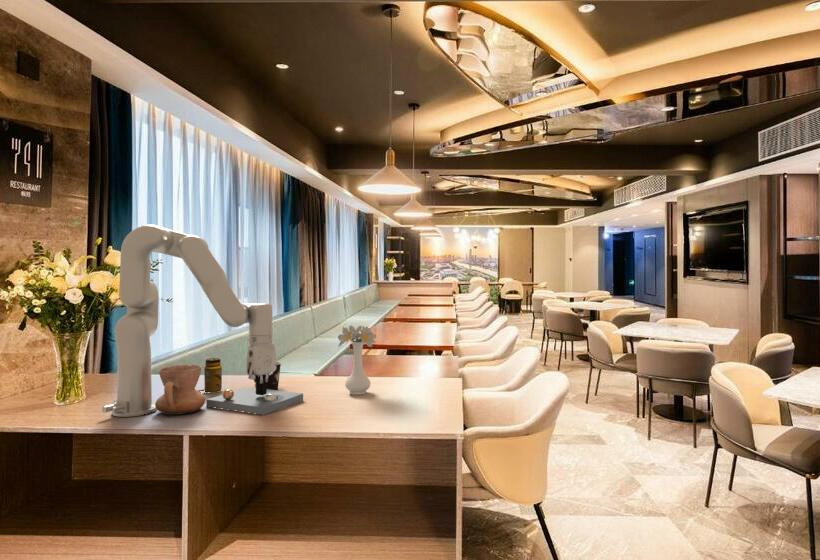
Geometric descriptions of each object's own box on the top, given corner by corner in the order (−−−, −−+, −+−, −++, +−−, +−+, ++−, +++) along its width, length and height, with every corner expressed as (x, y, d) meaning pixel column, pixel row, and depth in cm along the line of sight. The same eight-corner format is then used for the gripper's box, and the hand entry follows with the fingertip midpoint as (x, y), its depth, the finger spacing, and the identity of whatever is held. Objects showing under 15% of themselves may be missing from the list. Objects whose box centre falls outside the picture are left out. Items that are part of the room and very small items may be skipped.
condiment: (225, 391, 189) (225, 359, 189) (203, 394, 183) (202, 362, 183) (217, 387, 194) (217, 356, 194) (195, 391, 188) (195, 359, 188)
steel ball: (270, 408, 165) (268, 397, 165) (263, 407, 168) (260, 396, 167) (280, 403, 169) (278, 392, 168) (272, 402, 171) (270, 391, 170)
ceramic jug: (171, 404, 170) (171, 362, 169) (214, 404, 169) (213, 362, 169) (141, 420, 152) (141, 373, 151) (189, 420, 151) (188, 373, 151)
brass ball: (260, 391, 177) (260, 381, 177) (252, 390, 178) (252, 380, 178) (266, 389, 180) (266, 379, 180) (259, 388, 182) (259, 379, 182)
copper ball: (228, 401, 163) (228, 391, 163) (220, 400, 165) (220, 389, 165) (236, 399, 166) (236, 388, 166) (228, 398, 168) (228, 387, 168)
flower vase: (379, 387, 195) (379, 322, 194) (369, 399, 176) (369, 328, 176) (346, 386, 196) (346, 322, 196) (333, 398, 178) (333, 327, 177)
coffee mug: (266, 393, 184) (266, 366, 184) (252, 390, 189) (252, 364, 189) (291, 388, 193) (291, 362, 193) (277, 385, 199) (277, 359, 198)
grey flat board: (206, 406, 166) (206, 399, 166) (249, 393, 184) (249, 386, 184) (263, 415, 156) (263, 407, 156) (303, 400, 174) (303, 393, 174)
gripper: (254, 343, 161) (254, 400, 161) (284, 337, 174) (284, 390, 175) (236, 342, 164) (236, 398, 164) (267, 336, 178) (267, 388, 178)
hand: (261, 394), depth 169 cm, fingers closed
